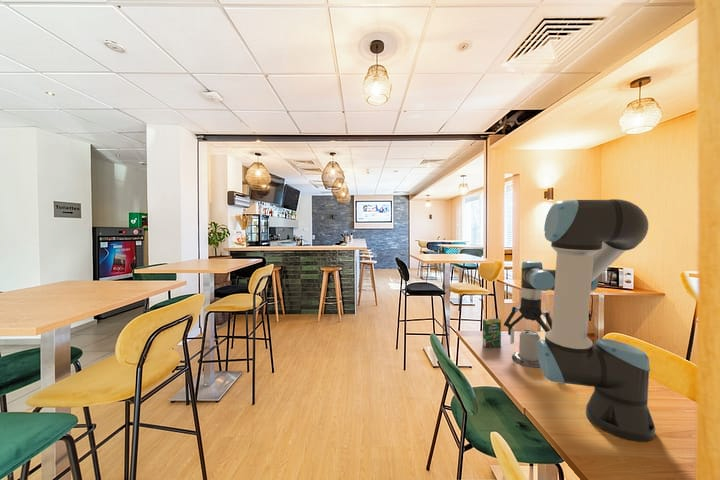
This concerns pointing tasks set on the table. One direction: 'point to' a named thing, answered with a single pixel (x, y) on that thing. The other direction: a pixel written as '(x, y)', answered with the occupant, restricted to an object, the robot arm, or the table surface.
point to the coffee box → (491, 333)
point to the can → (528, 345)
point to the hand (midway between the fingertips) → (529, 347)
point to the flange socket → (525, 361)
